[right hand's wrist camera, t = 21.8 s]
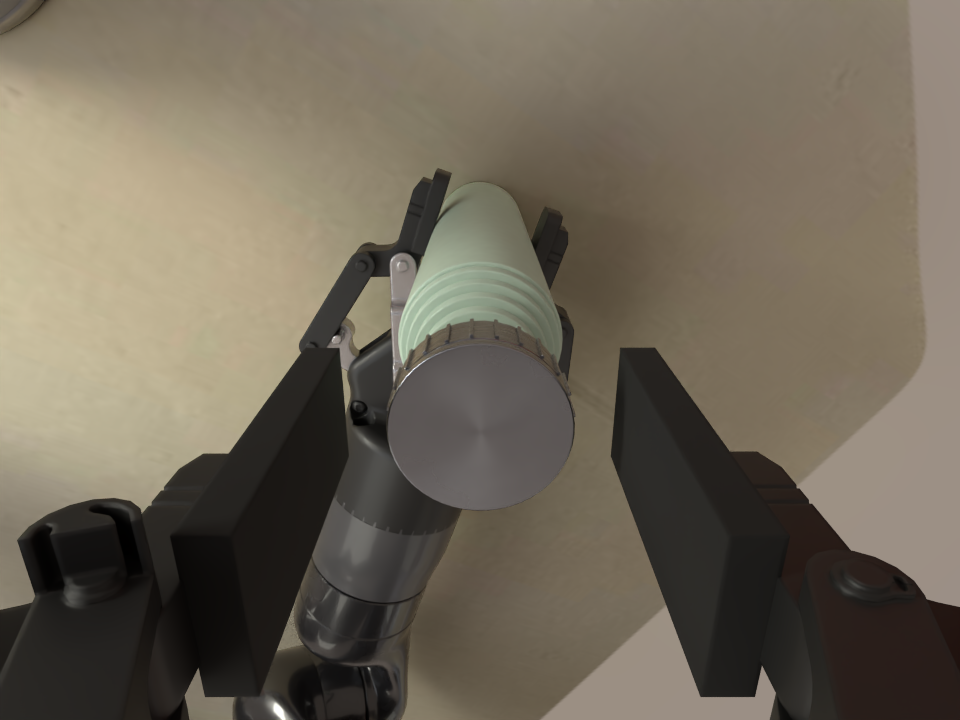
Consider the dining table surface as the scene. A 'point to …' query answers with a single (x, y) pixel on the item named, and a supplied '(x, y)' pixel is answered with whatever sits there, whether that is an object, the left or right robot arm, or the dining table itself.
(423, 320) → the bottle
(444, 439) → the cap
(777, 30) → the dining table surface
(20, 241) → the dining table surface
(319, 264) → the dining table surface
